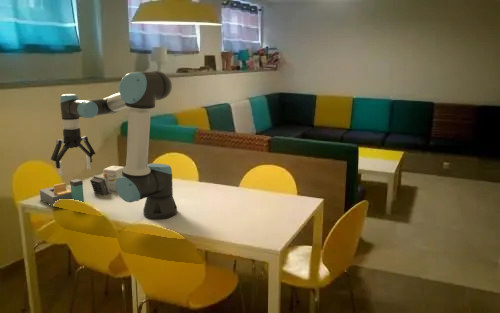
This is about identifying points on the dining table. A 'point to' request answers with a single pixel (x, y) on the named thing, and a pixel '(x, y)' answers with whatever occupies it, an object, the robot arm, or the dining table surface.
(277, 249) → the dining table surface
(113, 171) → the ink box
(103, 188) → the electrical switch
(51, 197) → the socket
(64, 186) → the panel
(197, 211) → the dining table surface
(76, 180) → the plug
